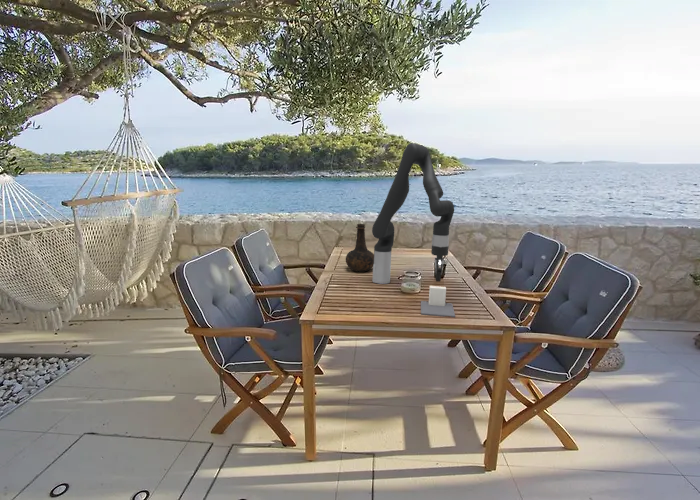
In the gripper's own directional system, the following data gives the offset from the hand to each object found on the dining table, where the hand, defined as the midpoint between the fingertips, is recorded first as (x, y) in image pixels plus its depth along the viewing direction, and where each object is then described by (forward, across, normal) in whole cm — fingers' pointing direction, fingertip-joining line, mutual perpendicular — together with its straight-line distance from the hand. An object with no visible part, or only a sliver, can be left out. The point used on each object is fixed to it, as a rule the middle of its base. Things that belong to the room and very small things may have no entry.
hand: (438, 281), depth 180 cm
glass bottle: (+9, -47, -43) cm, 64 cm away
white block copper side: (+9, +7, 0) cm, 11 cm away
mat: (+9, +12, 0) cm, 16 cm away
